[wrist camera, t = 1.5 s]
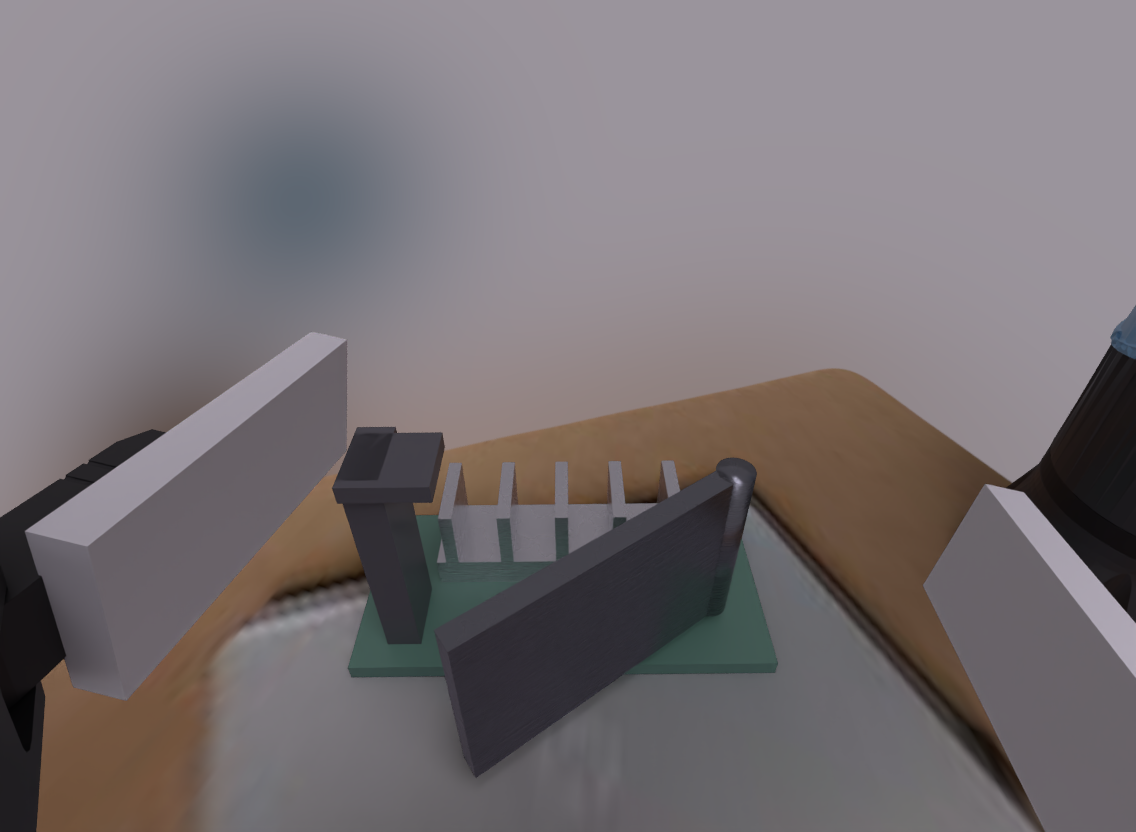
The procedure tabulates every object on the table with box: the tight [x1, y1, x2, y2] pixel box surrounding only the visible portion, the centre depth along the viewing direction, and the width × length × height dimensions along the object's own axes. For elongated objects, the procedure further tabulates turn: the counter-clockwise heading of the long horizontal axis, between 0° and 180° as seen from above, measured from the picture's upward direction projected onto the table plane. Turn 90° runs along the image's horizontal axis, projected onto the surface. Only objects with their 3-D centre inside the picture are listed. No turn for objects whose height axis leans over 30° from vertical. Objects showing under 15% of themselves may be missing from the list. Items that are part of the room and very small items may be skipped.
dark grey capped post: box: [332, 427, 445, 644], centre depth 35 cm, size 4×4×14 cm
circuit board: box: [348, 515, 778, 677], centre depth 42 cm, size 25×12×1 cm, turn 90°
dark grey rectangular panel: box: [434, 458, 757, 778], centre depth 32 cm, size 18×2×11 cm, turn 125°
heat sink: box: [437, 461, 680, 582], centre depth 42 cm, size 16×5×6 cm, turn 90°
